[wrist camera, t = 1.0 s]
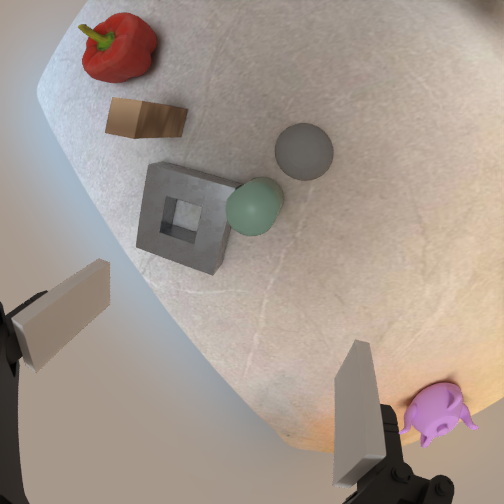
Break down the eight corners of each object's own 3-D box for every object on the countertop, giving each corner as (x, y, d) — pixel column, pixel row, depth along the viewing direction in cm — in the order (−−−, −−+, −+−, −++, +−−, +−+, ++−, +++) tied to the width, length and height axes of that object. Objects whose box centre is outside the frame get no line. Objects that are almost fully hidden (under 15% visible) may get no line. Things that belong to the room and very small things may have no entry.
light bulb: (329, 174, 37) (334, 184, 28) (282, 173, 38) (272, 183, 29) (329, 127, 35) (334, 122, 26) (281, 126, 36) (270, 121, 27)
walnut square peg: (162, 104, 38) (112, 97, 27) (188, 109, 37) (142, 101, 26) (156, 131, 39) (104, 133, 28) (181, 137, 39) (133, 138, 28)
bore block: (162, 161, 41) (148, 164, 37) (242, 183, 40) (235, 188, 36) (149, 238, 45) (135, 247, 42) (221, 264, 44) (213, 275, 41)
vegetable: (97, 63, 37) (54, 54, 28) (138, 13, 33) (100, -7, 24) (134, 99, 38) (91, 94, 29) (181, 46, 34) (145, 25, 25)
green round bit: (248, 171, 39) (232, 179, 32) (288, 184, 38) (282, 194, 31) (237, 210, 41) (220, 227, 34) (276, 223, 41) (267, 242, 33)
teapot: (467, 398, 45) (479, 429, 37) (408, 427, 50) (414, 460, 41) (457, 365, 43) (472, 399, 34) (391, 399, 48) (398, 435, 39)
